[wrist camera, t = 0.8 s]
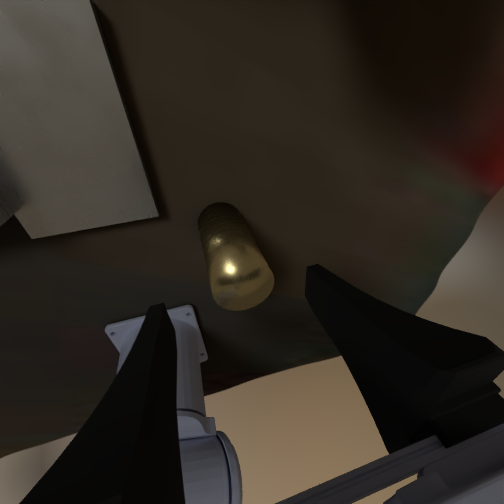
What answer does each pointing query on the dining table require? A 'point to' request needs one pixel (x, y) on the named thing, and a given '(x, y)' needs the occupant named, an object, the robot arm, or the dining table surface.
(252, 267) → the hinge pin
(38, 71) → the hinge base
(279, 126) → the dining table surface
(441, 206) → the dining table surface
